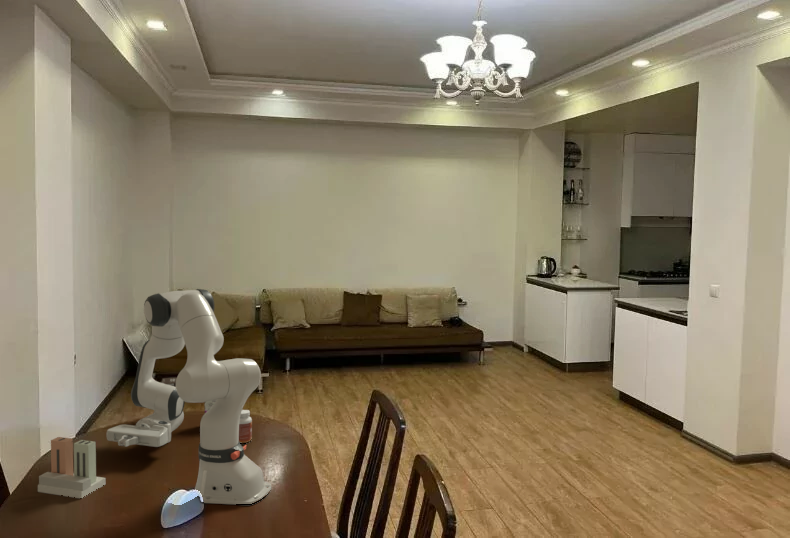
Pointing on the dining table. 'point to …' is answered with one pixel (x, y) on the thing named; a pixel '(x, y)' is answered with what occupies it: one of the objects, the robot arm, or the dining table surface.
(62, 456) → the orange-brown upright block
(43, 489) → the tile board
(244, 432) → the pill bottle
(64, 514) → the dining table surface
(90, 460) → the pale green tall block
